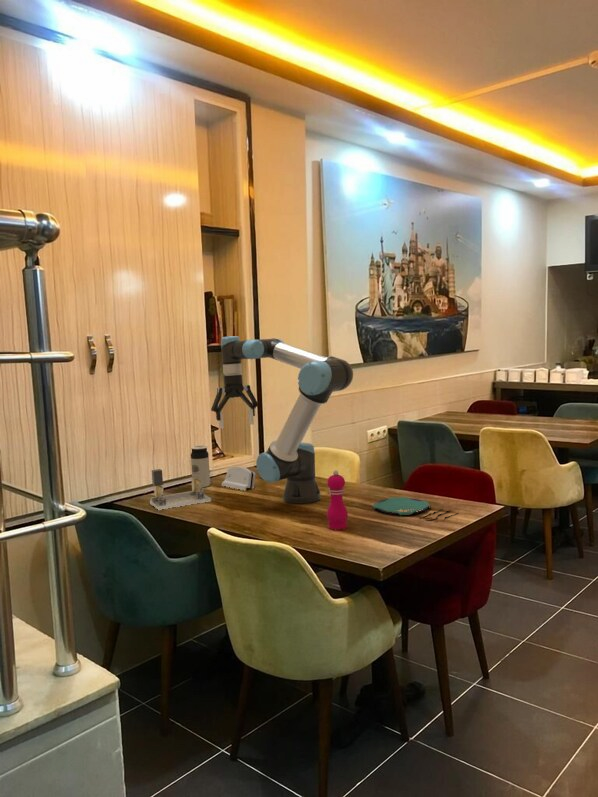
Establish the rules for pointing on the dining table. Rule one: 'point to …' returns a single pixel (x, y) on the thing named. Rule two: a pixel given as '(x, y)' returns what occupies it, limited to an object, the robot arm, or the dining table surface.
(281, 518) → the dining table surface
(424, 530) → the dining table surface
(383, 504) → the teal flat plaque
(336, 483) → the pepper mill
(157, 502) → the bolt plate
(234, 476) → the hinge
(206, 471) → the travel mug
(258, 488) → the dining table surface
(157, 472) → the sliding leg
